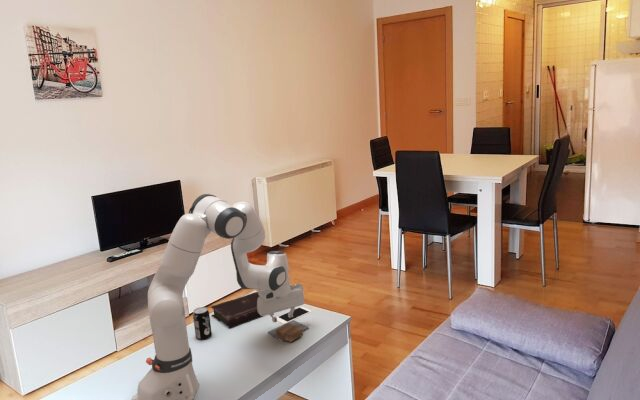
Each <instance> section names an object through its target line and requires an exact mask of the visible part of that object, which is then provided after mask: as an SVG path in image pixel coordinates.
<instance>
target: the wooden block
mask: <svg viewBox="0 0 640 400" xmlns="http://www.w3.org/2000/svg"><path fill="white" fill-rule="evenodd" d="M303 332H304V331H302V328H300V327H298V326H295V325H292V324H290V323H287V324H286V325H284V326H282V327H280V328H278V329H276V333H277V337H279V338H282V339H284V340H285V341H287V342H289V343H292V342H293V341H295V340H297V339H298V338H300V337H302V336H303Z"/></svg>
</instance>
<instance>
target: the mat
mask: <svg viewBox="0 0 640 400" xmlns="http://www.w3.org/2000/svg"><path fill="white" fill-rule="evenodd" d="M288 323H290V324H292V325H295V326H298V327H300V328H302V331H303V332H305V331H307V330H309V329H310V328H309V326H307V325H305V324H303V323H301V322H299V321H297V320H296V319H295V320H292V321H290V322H288ZM286 324H287V323H286ZM286 324H283V323H282V324H281V325H279V326H277V327H276V328H275V327H274V328H273V329H271V330H269V331H267V335H269V336H271V337H273V338H275V339H277V340H279V341H281V342H285V341H286V340H284V339H282V338H279V337H277V333H276V329H278V328H280V327H282V326H284V325H286Z"/></svg>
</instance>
